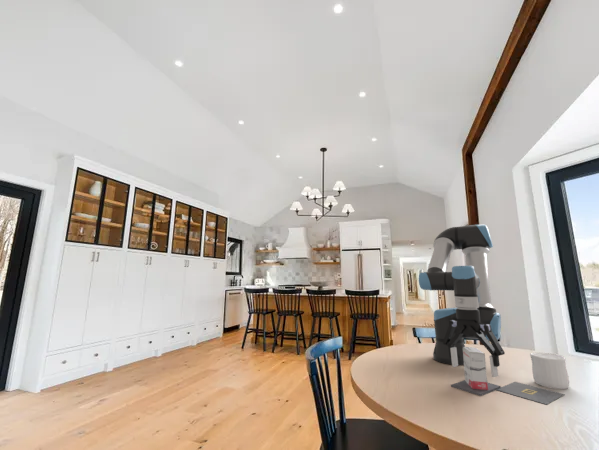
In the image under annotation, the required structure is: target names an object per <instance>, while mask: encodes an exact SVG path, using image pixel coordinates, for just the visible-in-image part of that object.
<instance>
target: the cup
mask: <svg viewBox="0 0 599 450" xmlns="http://www.w3.org/2000/svg"><path fill="white" fill-rule="evenodd" d="M529 356H530V359H531V368H532V369H531V370H532V377H533V378H532V379H533V380H534V382H535V383H536V384H537V385H538V386H542V387H545V388H549V389H556V390H566V389H568V388H569V387H570V380H569V377H570V376H569V374H568V369H567V363H566V362H567V361H566V357H565V356H563V355H561V354H557V353H550V352H531V353H529Z"/></svg>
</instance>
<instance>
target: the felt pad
mask: <svg viewBox="0 0 599 450" xmlns="http://www.w3.org/2000/svg"><path fill="white" fill-rule="evenodd" d="M487 385H488V390H479V389H472V388H471V387H470V386H469V385H468V383H467V382H466V381H465V379H463V380H460V381H458V382H454V383H452V384H450V386H451V388H454V389H458V390H460V391H464V392H467V393H470V394H473V395H477V396H479V397H482V396H485V395H487V394H490V393H492V392H495V391H497V390H496V389H498V388H500V387H502V386H501V385H498V384H495V383H492V382H488V381H487Z"/></svg>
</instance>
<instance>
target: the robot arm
mask: <svg viewBox="0 0 599 450" xmlns="http://www.w3.org/2000/svg"><path fill="white" fill-rule="evenodd" d="M432 247H433V251H432V254H431V258H430V261H429V264H428V267H427V271H423V272H420V273H419V275H418V284H419V285H418V286H419V288H420V289H421V290H423V291H453V297H454V305H455V307H448V308H447V307H446V308H439V309H435V310H434V311H433V321H434V322H433V324H434V334H435V345H434V349H433V353H432V355H433V356H432V357H433V360H434V361H436V362H439V363H442V364H448V365H451V367H452V368H455V367H458V366H460V365H463V366H464V359H463V347H466V345H465V343H464V342H465V341H464V339H472V340H478V341H479V342H480V343H481V344H482V345H483V346H484V348H485V349H486V350H487V351H488V352H489V354H491V355H489V357H488V358H489V365H490V366H489V367H490V374H491V378H497V377H499V370H498V367H500V358H499V357H500V356H503V355H505V351H504V349H503V347H502V345H501V343H500V342H499V341H498V340H499V339H500V337H501V329H502V321H501V320H502V319H501V318H502V317H501V314H500V313H499V312H497V309H496V307H495V306H493V305H492V299H491V289H490V288H491V287H490V278H489V277H490V276H489V269H488V267H489V266H488V259H487V255H488V254H489V253H491V252H490V251H491V250H490V249H491V248H493V247H494V245H493V241H492V237H491V234H490V231H489V228H488V226H487V225H486V224H471V225H461V226H452V227H449V228H447V229H445V230H443V231H441V232H440V233H439V234H438V235H437V236H436V238H434V242H433V245H432ZM455 250H461V252H462V254H464V255H465V260H466V261H465V263H466V265H454V266H452V267H451V271H447V270H448V265H449V262H450V258H451V253H453V252H454V251H455Z"/></svg>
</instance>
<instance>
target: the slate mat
mask: <svg viewBox="0 0 599 450" xmlns="http://www.w3.org/2000/svg"><path fill="white" fill-rule="evenodd" d="M495 391H498V392H502V393H505V394H507V395H508V394H509V395H512V396H516V397H519V398H521V399H525V400H529V401H533V402H535V403H539V404H543V405H549V404H551V403H553V402H554V401H556V400H558V399H560V398H562V397H564V396H565V394H564V393H561V392H558V391H554V390H550V389H547V388H546V389H545V388H542V387H539V386H535V385H530V384H526V383H523V382H518V381H513V382H510V383H508V384H506V385H503V386H501V387H500V388H498V389H496V390H495Z"/></svg>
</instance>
